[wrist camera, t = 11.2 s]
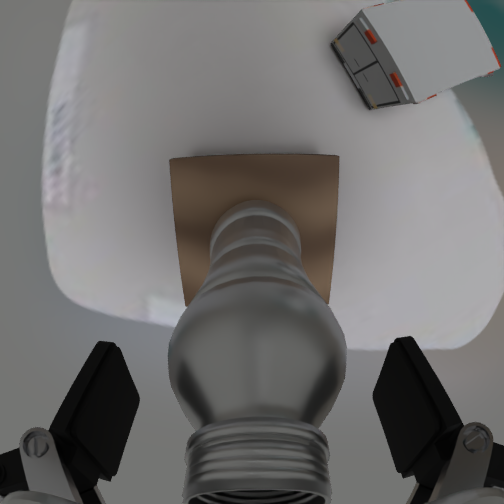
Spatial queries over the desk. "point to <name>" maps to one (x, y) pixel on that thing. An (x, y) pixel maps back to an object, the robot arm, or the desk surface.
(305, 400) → the plastic bottle
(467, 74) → the toy vehicle
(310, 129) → the desk surface
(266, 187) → the walnut stand
